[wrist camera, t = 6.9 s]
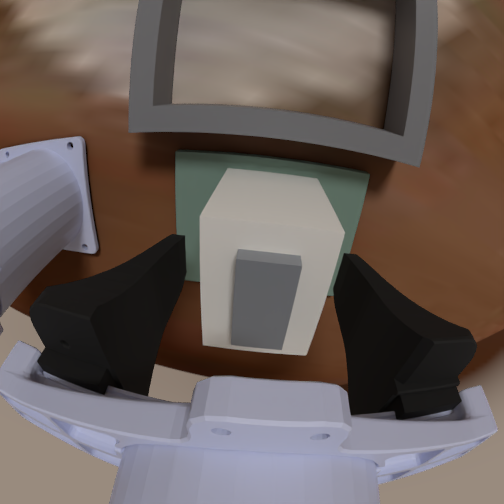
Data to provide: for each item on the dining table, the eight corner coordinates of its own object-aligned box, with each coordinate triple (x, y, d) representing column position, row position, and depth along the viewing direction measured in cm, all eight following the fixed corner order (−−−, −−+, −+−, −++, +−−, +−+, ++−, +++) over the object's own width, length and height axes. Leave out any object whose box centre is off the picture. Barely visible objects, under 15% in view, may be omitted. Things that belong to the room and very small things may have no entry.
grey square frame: (149, 126, 13) (128, 132, 11) (171, -50, 7) (155, -68, 5) (398, 155, 13) (419, 167, 11) (414, -19, 7) (434, -32, 5)
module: (222, 267, 17) (200, 355, 11) (227, 168, 14) (194, 224, 8) (297, 275, 17) (307, 366, 11) (317, 178, 14) (349, 242, 8)
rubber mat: (181, 273, 18) (179, 279, 17) (179, 149, 14) (175, 151, 13) (334, 290, 18) (335, 296, 17) (366, 171, 14) (369, 174, 13)
